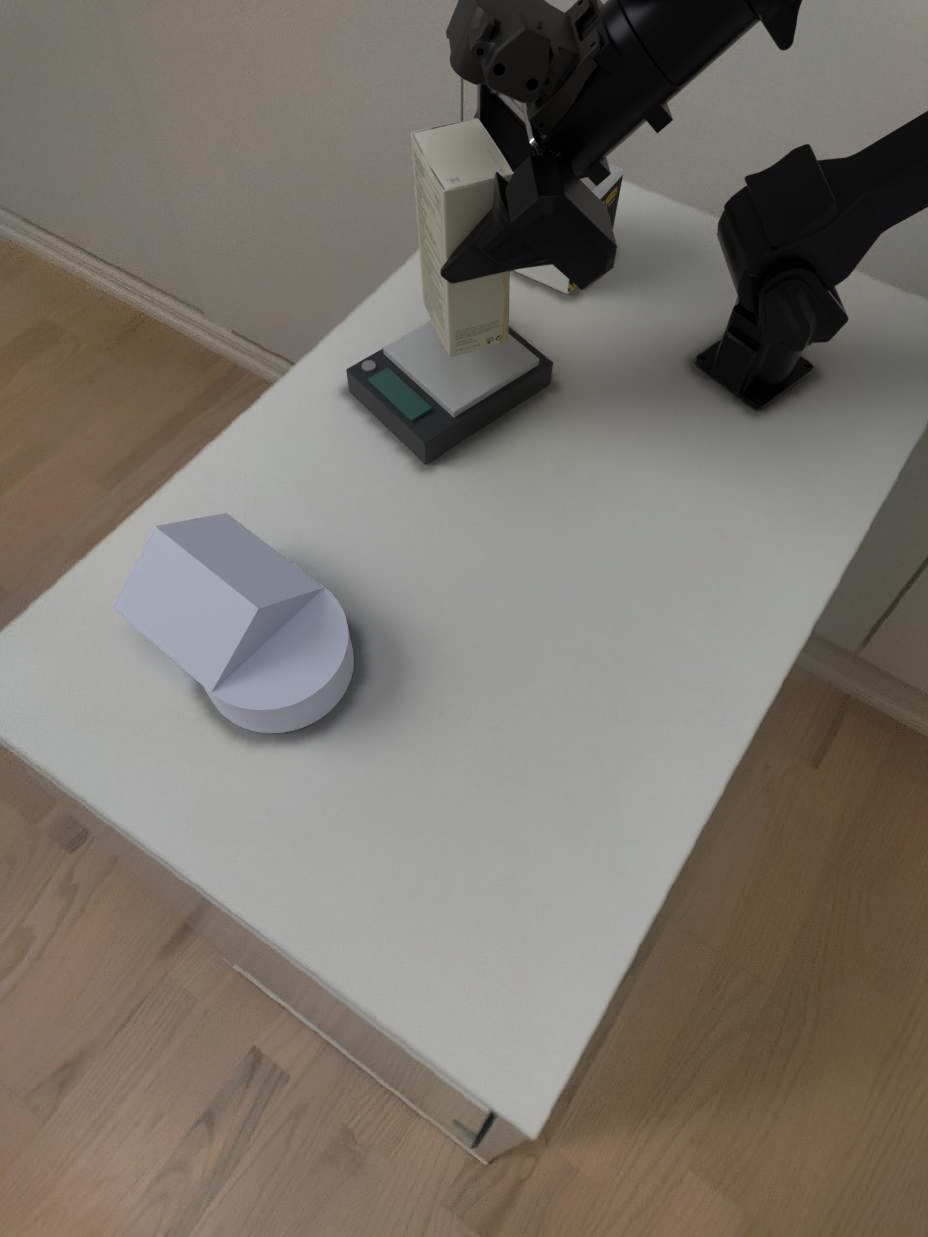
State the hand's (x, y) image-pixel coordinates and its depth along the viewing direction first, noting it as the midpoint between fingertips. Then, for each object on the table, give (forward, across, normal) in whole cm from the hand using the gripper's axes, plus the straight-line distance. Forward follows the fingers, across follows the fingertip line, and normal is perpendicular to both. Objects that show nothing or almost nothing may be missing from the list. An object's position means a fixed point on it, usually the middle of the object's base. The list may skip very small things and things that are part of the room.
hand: (441, 239), depth 54 cm
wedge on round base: (+18, +21, -1) cm, 28 cm away
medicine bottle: (+2, -14, +16) cm, 21 cm away
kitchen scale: (+8, 0, +9) cm, 12 cm away
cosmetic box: (+4, 0, +6) cm, 7 cm away
